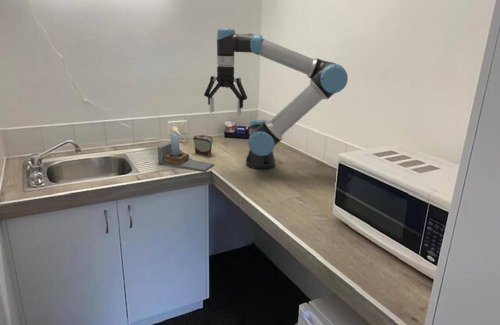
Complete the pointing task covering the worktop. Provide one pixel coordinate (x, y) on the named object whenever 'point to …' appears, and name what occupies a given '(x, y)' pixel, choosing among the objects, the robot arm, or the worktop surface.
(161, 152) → the board
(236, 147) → the worktop surface
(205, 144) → the food container
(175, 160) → the socket block
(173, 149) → the dowel
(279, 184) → the worktop surface
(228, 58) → the robot arm
